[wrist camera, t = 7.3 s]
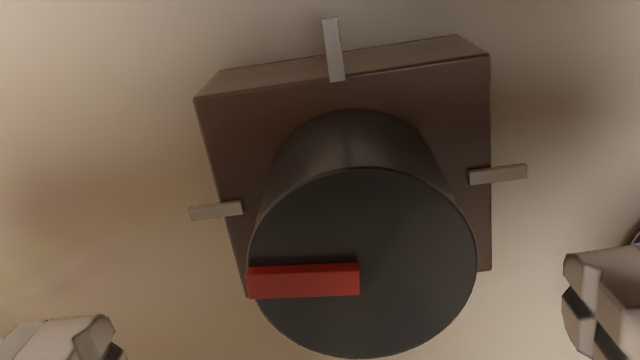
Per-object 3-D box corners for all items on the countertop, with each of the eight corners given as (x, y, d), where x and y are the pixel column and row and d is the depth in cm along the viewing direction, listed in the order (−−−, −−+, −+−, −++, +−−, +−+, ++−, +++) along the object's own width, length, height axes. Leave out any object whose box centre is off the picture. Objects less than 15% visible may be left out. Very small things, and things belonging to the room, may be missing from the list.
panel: (489, 248, 17) (523, 309, 14) (244, 277, 17) (227, 341, 14) (487, -21, 13) (532, -14, 10) (179, 29, 14) (139, 48, 11)
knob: (444, 103, 11) (493, 167, 8) (437, 260, 13) (474, 368, 10) (258, 113, 12) (227, 181, 8) (276, 267, 13) (258, 375, 10)
